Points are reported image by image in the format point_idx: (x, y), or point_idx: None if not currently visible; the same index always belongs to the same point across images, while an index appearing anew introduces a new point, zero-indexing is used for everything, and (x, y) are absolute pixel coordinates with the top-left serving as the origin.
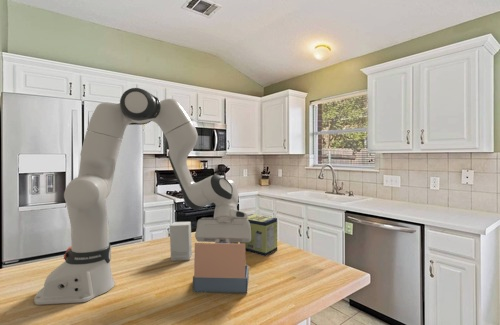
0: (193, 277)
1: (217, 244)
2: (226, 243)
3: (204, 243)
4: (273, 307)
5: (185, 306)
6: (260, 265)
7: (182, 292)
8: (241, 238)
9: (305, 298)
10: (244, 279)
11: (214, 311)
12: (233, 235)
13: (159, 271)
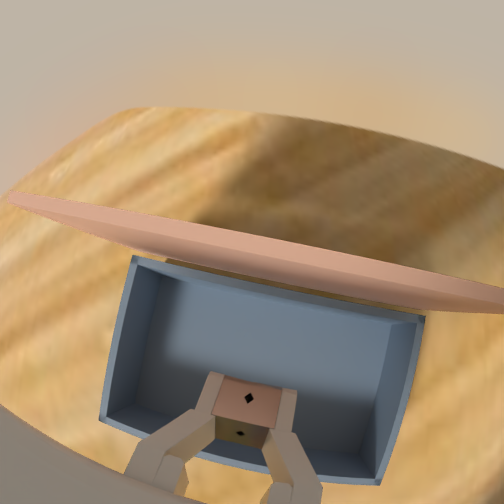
0: (422, 316)
1: (315, 249)
2: (181, 239)
3: (482, 284)
4: (104, 164)
5: (410, 211)
6: None
7: (435, 322)
8: (5, 408)
9: (13, 207)
10: (146, 258)
11: (304, 161)
12: (57, 472)
13: (498, 493)
